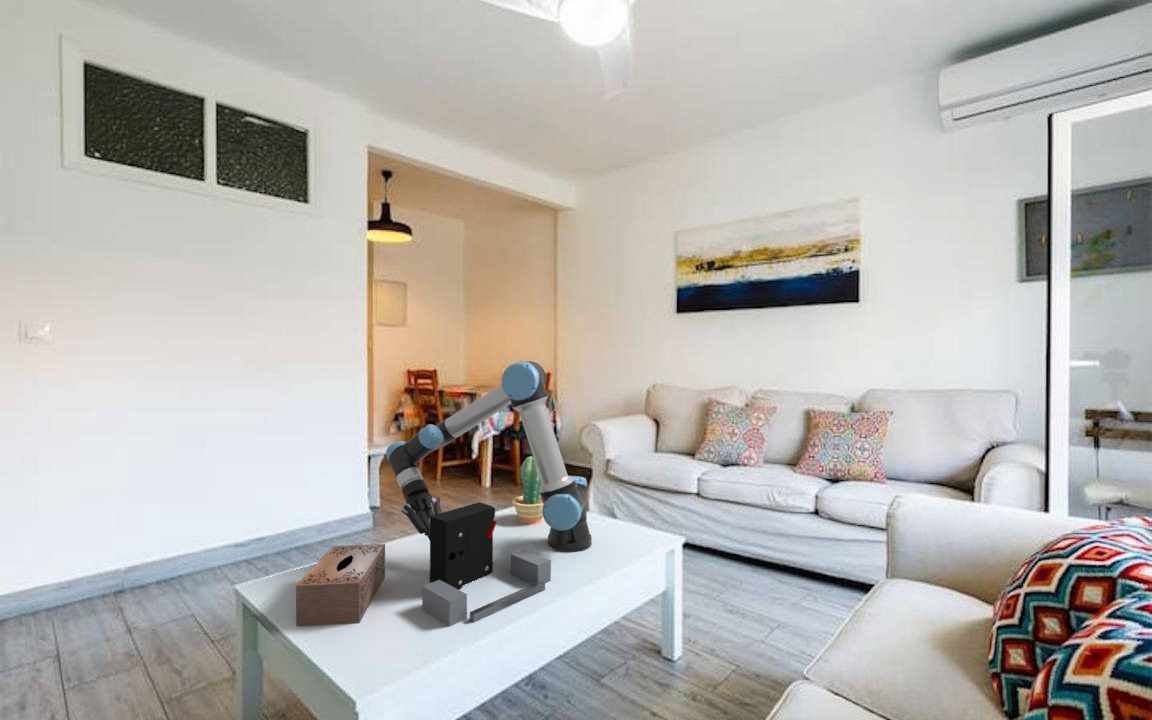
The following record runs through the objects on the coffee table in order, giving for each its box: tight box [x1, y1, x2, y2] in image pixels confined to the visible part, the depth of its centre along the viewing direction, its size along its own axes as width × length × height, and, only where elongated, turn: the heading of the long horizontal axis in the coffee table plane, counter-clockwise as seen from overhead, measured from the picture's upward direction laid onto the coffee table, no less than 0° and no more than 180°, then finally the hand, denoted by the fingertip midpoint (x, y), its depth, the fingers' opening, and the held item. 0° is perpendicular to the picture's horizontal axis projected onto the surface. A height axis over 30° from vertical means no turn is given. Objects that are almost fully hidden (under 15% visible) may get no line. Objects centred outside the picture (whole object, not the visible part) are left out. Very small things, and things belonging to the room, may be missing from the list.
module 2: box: [509, 548, 552, 585], centre depth 151 cm, size 5×12×6 cm, turn 48°
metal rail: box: [469, 581, 546, 623], centre depth 135 cm, size 24×2×2 cm, turn 138°
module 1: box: [421, 580, 468, 627], centre depth 130 cm, size 5×12×6 cm, turn 48°
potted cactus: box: [511, 455, 544, 525], centre depth 203 cm, size 15×15×25 cm
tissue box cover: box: [295, 543, 386, 627], centre depth 137 cm, size 26×14×10 cm, turn 7°
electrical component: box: [428, 502, 498, 590], centre depth 149 cm, size 18×10×20 cm, turn 141°
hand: (441, 550), depth 156 cm, fingers closed
